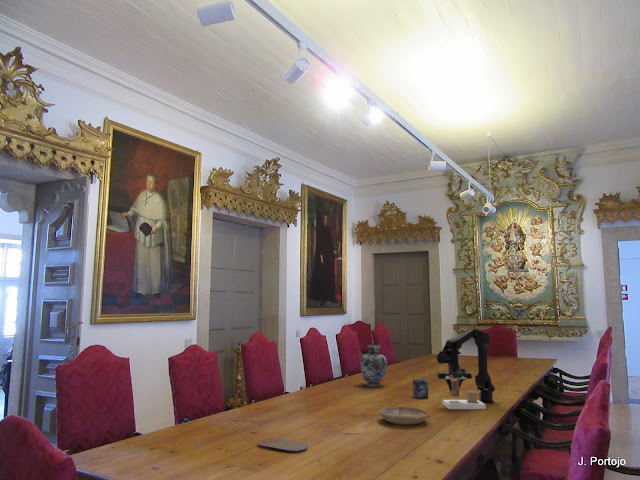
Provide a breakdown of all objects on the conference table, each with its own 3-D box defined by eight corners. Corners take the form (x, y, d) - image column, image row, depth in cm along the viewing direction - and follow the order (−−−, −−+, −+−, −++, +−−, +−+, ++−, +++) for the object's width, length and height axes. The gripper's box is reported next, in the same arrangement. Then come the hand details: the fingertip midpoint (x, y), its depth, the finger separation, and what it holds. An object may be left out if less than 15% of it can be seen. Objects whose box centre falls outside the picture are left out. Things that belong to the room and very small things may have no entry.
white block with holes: (477, 404, 266) (477, 389, 267) (485, 409, 254) (484, 393, 255) (442, 404, 266) (442, 389, 267) (449, 409, 254) (448, 393, 255)
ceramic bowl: (425, 430, 212) (425, 418, 212) (374, 425, 220) (374, 414, 220) (431, 418, 233) (431, 408, 234) (385, 414, 241) (385, 404, 242)
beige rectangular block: (457, 395, 263) (456, 380, 264) (459, 396, 259) (458, 381, 260) (449, 395, 263) (449, 380, 264) (452, 396, 259) (451, 381, 260)
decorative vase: (357, 382, 335) (358, 343, 339) (383, 382, 337) (383, 343, 341) (363, 388, 314) (364, 346, 318) (390, 388, 316) (390, 346, 320)
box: (416, 398, 282) (415, 380, 284) (412, 396, 288) (412, 378, 289) (428, 398, 283) (428, 380, 285) (425, 396, 289) (424, 378, 290)
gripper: (440, 364, 255) (441, 394, 253) (474, 364, 255) (476, 394, 253) (435, 362, 266) (436, 390, 264) (468, 362, 266) (469, 390, 264)
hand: (454, 391), depth 261 cm, fingers closed on beige rectangular block, 4 cm apart
